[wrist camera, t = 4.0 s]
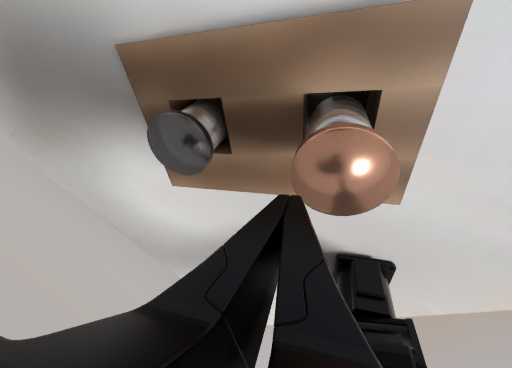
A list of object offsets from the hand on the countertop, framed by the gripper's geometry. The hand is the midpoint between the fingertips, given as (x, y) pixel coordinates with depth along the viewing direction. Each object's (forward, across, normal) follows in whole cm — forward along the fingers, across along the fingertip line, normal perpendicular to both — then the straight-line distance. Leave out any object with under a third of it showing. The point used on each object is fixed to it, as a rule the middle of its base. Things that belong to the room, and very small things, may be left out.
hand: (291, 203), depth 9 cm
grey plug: (+11, +8, 0) cm, 14 cm away
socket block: (+12, +3, 0) cm, 12 cm away
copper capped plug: (+9, -2, 0) cm, 9 cm away
